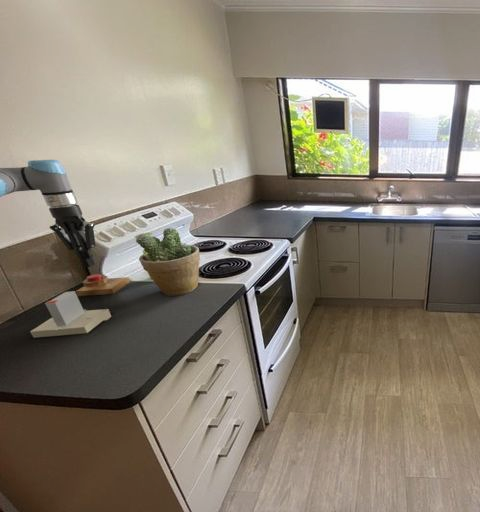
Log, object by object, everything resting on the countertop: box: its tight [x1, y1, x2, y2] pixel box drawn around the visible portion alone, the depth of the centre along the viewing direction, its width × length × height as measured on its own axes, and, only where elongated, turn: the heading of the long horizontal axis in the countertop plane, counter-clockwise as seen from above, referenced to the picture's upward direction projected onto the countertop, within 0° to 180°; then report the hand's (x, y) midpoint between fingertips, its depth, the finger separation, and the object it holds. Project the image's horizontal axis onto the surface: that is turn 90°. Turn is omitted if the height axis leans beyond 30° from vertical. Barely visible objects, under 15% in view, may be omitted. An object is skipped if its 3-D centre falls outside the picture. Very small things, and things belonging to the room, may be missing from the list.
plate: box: [29, 308, 112, 339], centre depth 90 cm, size 14×11×3 cm
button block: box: [75, 274, 131, 297], centre depth 113 cm, size 12×10×4 cm
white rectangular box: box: [44, 290, 85, 326], centre depth 88 cm, size 7×2×8 cm, turn 9°
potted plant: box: [135, 227, 201, 297], centre depth 109 cm, size 18×19×25 cm
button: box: [86, 273, 102, 282], centre depth 113 cm, size 4×4×2 cm
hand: (90, 265), depth 111 cm, fingers closed
